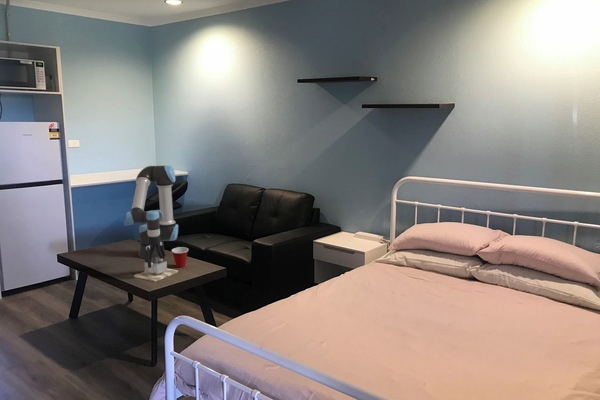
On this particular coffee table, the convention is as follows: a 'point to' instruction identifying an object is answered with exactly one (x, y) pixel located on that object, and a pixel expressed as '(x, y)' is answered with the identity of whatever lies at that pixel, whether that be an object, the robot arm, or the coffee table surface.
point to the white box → (157, 266)
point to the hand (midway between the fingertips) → (156, 270)
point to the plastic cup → (180, 256)
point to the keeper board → (154, 276)
